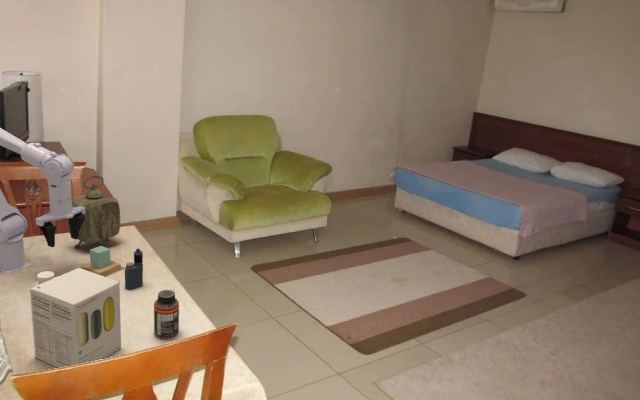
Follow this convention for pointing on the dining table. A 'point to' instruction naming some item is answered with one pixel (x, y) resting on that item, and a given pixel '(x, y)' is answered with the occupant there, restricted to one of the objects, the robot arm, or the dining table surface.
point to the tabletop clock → (97, 215)
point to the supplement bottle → (166, 315)
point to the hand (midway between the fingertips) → (63, 242)
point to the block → (100, 257)
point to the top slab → (103, 270)
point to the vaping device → (134, 272)
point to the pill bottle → (44, 277)
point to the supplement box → (76, 318)
